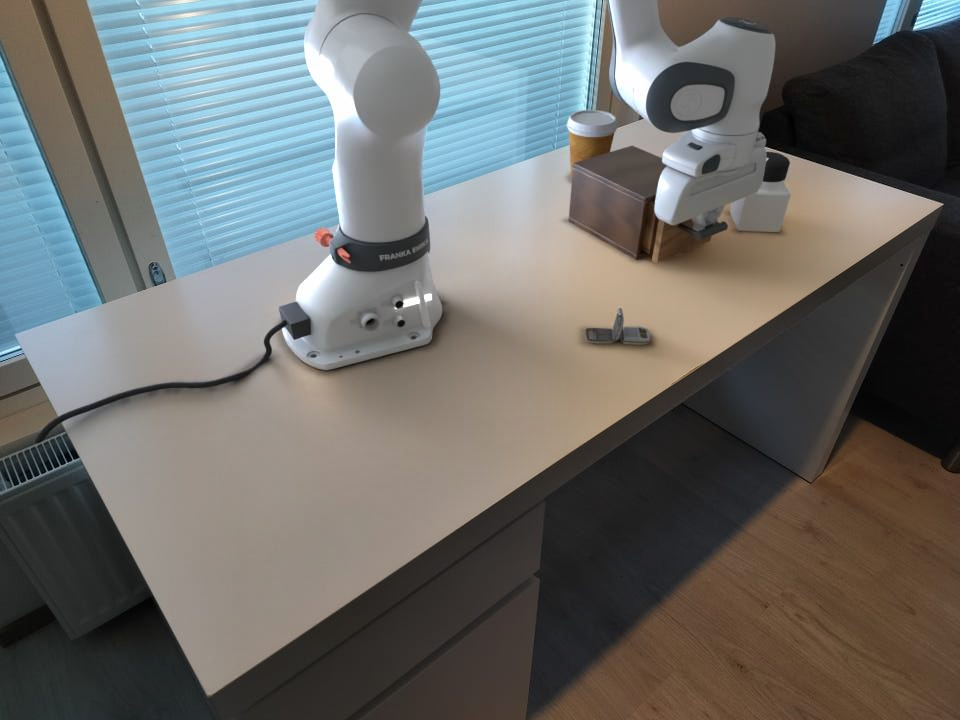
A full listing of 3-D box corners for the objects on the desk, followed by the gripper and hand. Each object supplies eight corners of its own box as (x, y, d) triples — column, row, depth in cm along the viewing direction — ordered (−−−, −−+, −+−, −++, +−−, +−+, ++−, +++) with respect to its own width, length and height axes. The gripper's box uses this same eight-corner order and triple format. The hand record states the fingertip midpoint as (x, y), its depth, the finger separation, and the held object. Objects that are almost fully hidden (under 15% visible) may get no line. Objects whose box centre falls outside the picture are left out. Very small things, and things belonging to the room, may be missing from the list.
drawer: (733, 252, 109) (746, 201, 103) (680, 276, 103) (690, 223, 98) (642, 207, 122) (649, 159, 117) (590, 226, 117) (595, 177, 111)
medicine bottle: (770, 214, 121) (788, 148, 114) (780, 233, 116) (800, 165, 108) (729, 212, 122) (744, 147, 115) (736, 231, 116) (753, 163, 109)
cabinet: (694, 236, 115) (706, 176, 109) (636, 259, 109) (645, 198, 103) (624, 201, 126) (632, 145, 119) (568, 221, 120) (573, 163, 113)
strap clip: (647, 332, 94) (652, 306, 91) (650, 345, 91) (655, 319, 89) (585, 330, 94) (587, 304, 92) (586, 343, 92) (589, 317, 89)
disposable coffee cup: (619, 175, 135) (626, 114, 128) (599, 192, 129) (606, 129, 122) (575, 165, 139) (580, 105, 132) (554, 182, 133) (558, 120, 126)
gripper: (749, 123, 103) (730, 207, 112) (654, 154, 94) (640, 243, 103) (785, 135, 99) (762, 222, 108) (689, 169, 90) (672, 260, 99)
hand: (702, 233), depth 105 cm, fingers closed
